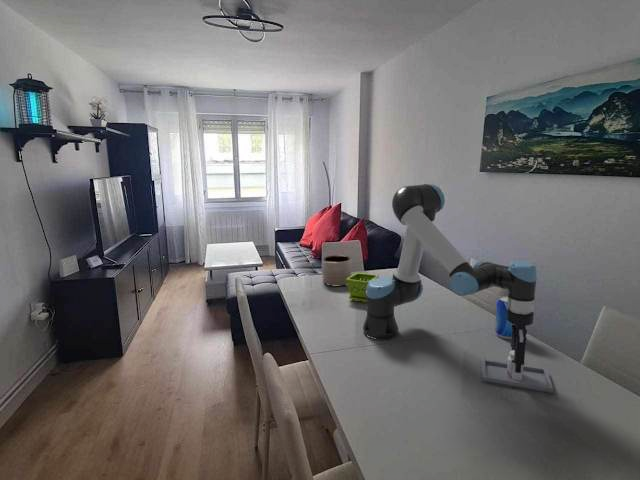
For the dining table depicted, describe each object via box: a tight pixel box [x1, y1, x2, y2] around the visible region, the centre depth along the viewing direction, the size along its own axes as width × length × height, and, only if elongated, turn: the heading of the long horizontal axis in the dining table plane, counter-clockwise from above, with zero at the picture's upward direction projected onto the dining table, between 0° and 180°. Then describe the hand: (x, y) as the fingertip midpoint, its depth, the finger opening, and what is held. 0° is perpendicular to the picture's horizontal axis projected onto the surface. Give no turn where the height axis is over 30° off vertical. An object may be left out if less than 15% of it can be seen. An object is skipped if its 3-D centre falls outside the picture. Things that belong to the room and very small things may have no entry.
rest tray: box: [481, 358, 555, 395], centre depth 120 cm, size 20×12×2 cm, turn 68°
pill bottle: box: [507, 350, 525, 378], centre depth 119 cm, size 5×5×8 cm
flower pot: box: [346, 272, 380, 303], centre depth 194 cm, size 14×14×13 cm
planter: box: [322, 254, 353, 286], centre depth 223 cm, size 18×18×16 cm
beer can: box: [494, 295, 512, 340], centre depth 147 cm, size 8×8×16 cm
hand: (515, 375), depth 120 cm, fingers closed on pill bottle, 5 cm apart
